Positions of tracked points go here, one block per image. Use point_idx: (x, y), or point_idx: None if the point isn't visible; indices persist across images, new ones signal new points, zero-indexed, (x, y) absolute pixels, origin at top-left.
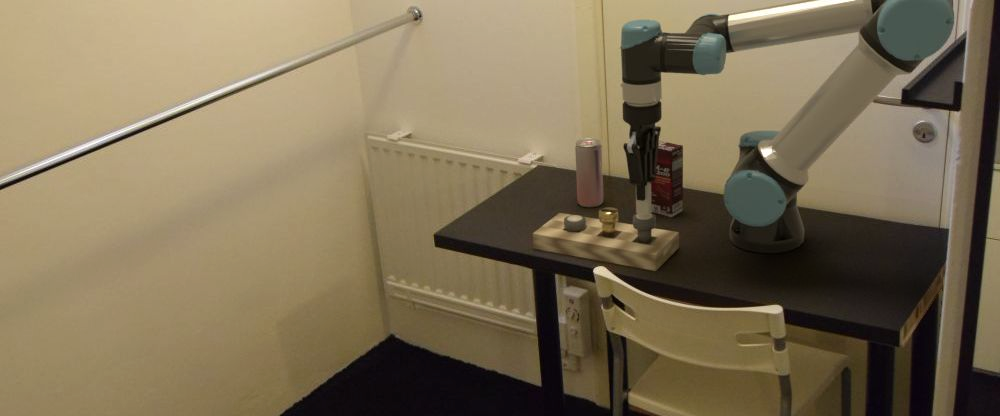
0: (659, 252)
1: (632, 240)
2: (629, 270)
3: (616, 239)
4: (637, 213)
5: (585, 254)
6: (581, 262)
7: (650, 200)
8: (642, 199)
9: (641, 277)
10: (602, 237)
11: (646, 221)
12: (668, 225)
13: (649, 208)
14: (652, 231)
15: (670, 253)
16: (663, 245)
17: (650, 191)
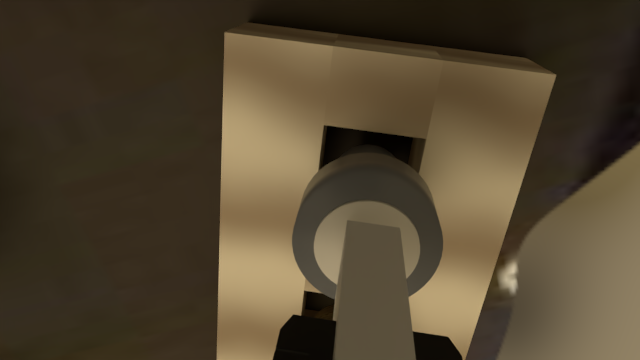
0: (499, 66)
1: None
2: (531, 169)
3: None
4: (326, 292)
5: None
6: (482, 342)
7: (358, 282)
8: (455, 353)
9: (600, 102)
10: None
11: (434, 215)
12: (47, 132)
13: (382, 248)
14: (261, 167)
15: (348, 37)
16: (419, 67)
17: (353, 343)
